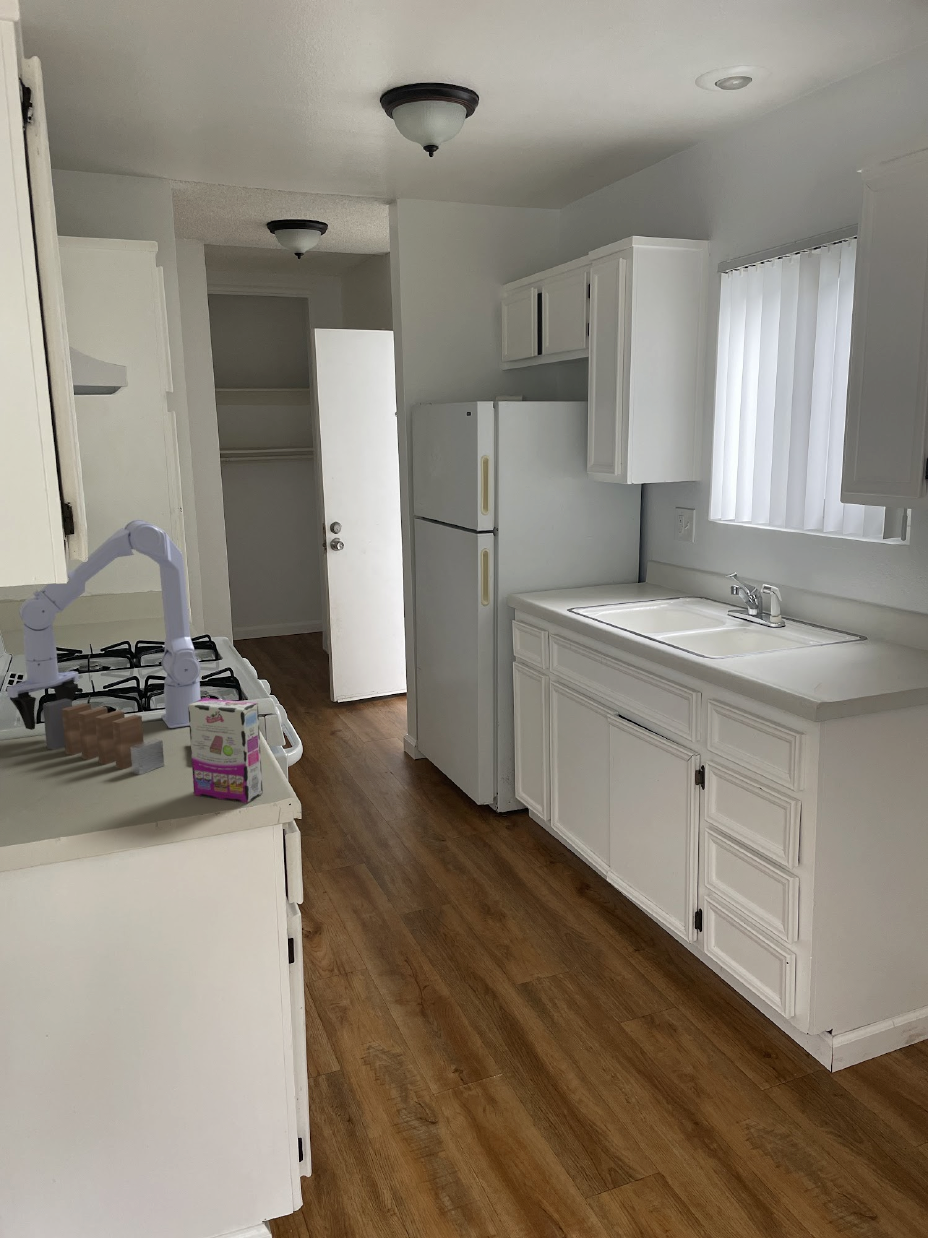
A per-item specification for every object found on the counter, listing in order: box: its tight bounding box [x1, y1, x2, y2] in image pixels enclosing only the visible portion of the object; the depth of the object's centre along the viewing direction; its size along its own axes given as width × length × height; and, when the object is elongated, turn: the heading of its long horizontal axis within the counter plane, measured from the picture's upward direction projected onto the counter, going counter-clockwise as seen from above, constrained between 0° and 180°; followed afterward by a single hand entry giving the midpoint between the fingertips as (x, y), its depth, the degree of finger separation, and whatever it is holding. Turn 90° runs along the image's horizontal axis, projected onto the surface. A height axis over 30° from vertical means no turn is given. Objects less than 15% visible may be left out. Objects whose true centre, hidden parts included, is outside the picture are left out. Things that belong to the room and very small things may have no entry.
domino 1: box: [42, 699, 73, 751], centre depth 185 cm, size 2×5×9 cm, turn 148°
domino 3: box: [78, 706, 109, 761], centre depth 180 cm, size 2×5×9 cm, turn 148°
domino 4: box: [95, 710, 126, 765], centre depth 177 cm, size 2×5×9 cm, turn 148°
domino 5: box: [112, 714, 145, 770], centre depth 174 cm, size 2×5×9 cm, turn 148°
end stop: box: [131, 738, 165, 776], centre depth 172 cm, size 2×6×5 cm, turn 148°
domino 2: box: [62, 702, 92, 756], centre depth 182 cm, size 2×5×9 cm, turn 148°
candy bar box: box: [188, 697, 264, 804], centre depth 159 cm, size 11×5×16 cm, turn 70°
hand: (47, 723), depth 187 cm, fingers open, 7 cm apart
